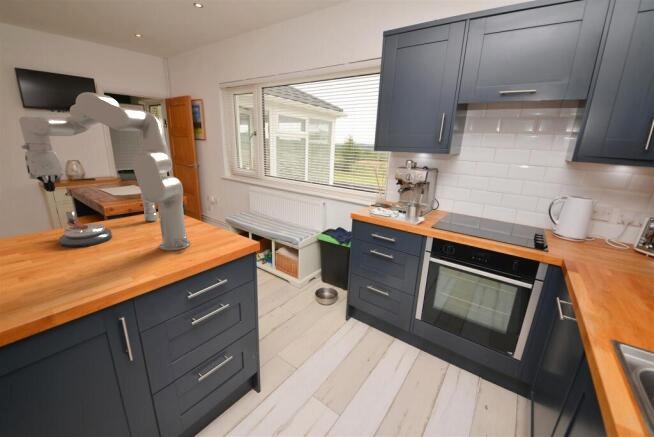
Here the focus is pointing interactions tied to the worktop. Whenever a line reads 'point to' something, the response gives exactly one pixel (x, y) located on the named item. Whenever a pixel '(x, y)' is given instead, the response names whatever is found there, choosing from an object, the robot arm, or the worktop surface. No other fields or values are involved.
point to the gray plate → (85, 240)
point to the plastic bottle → (149, 210)
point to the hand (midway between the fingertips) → (50, 191)
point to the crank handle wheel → (81, 228)
